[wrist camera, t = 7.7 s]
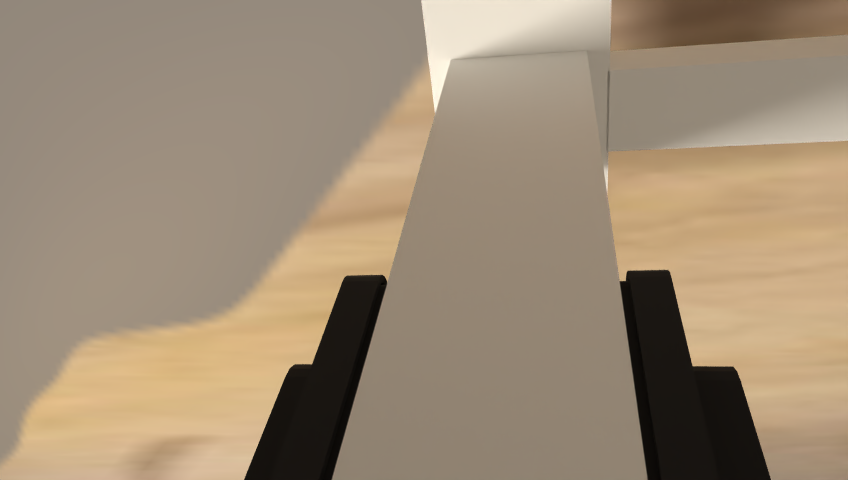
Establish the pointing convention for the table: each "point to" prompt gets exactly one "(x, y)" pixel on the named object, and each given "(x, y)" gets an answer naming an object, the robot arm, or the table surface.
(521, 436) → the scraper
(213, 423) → the table surface
